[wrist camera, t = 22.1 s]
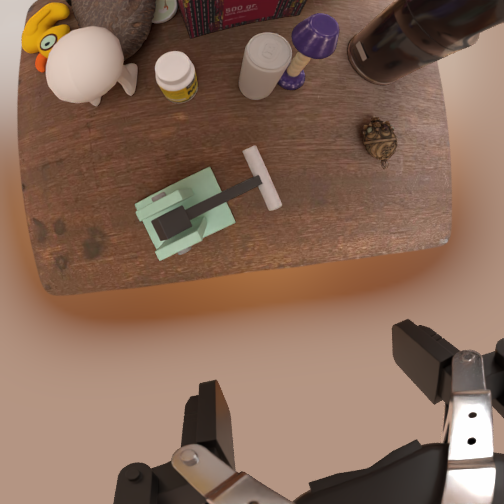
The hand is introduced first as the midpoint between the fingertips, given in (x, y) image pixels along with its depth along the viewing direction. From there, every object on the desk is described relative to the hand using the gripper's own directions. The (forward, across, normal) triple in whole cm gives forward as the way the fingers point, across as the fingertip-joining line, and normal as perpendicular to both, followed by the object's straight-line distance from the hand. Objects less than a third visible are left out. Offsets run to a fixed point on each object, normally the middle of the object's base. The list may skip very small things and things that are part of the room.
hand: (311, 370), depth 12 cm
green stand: (+30, +7, -6) cm, 31 cm away
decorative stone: (+27, +9, -39) cm, 49 cm away
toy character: (+30, +13, -26) cm, 42 cm away
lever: (+22, +3, -7) cm, 23 cm away
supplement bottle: (+30, +4, -23) cm, 38 cm away
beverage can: (+30, -6, -21) cm, 37 cm away
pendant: (+30, -21, -9) cm, 38 cm away
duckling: (+27, +25, -44) cm, 58 cm away
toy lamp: (+30, -11, -21) cm, 38 cm away
